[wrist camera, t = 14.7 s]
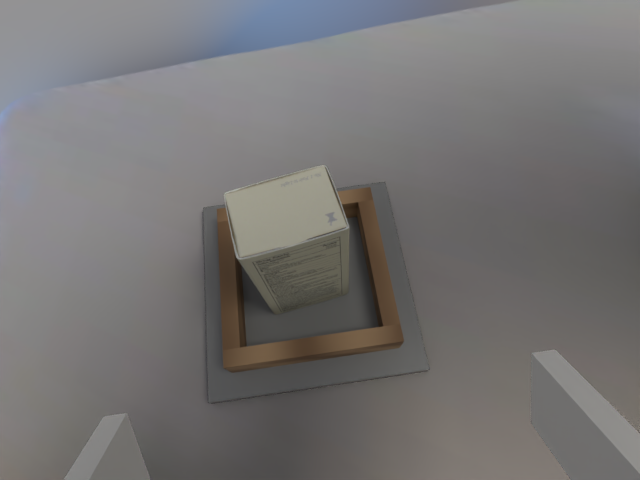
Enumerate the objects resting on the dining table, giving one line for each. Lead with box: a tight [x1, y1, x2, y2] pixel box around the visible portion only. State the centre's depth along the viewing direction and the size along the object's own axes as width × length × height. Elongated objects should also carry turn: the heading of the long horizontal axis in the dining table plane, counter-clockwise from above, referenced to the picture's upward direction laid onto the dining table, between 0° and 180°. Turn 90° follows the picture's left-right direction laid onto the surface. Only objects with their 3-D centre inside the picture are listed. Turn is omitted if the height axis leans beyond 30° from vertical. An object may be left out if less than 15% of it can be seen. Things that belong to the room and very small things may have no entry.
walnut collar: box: [217, 187, 404, 373], centre depth 33 cm, size 12×12×2 cm
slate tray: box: [203, 182, 430, 404], centre depth 34 cm, size 16×16×1 cm
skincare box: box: [224, 165, 349, 314], centre depth 28 cm, size 6×4×12 cm
